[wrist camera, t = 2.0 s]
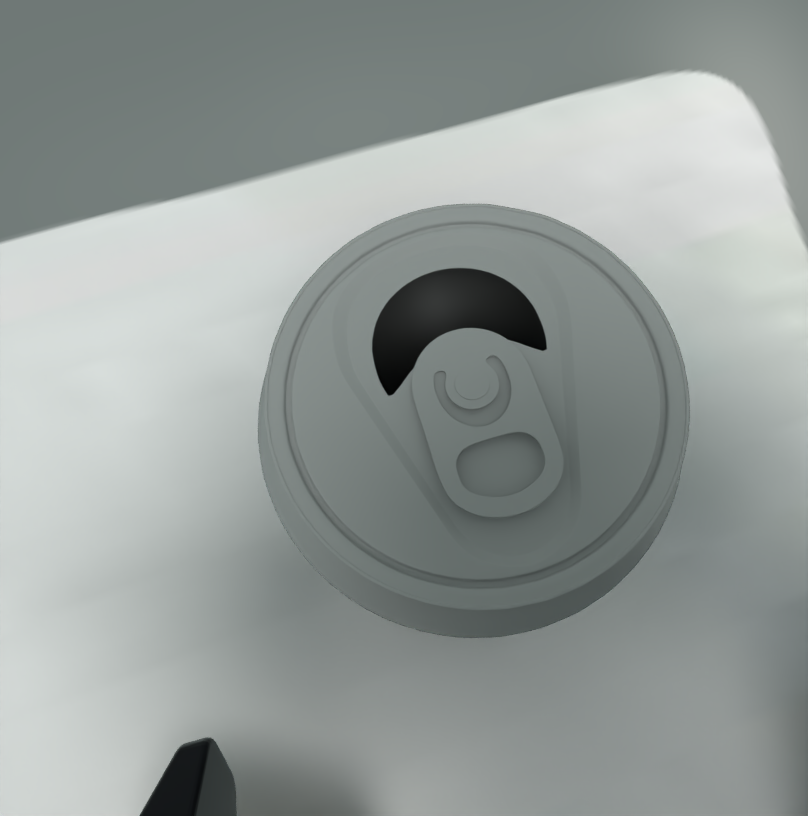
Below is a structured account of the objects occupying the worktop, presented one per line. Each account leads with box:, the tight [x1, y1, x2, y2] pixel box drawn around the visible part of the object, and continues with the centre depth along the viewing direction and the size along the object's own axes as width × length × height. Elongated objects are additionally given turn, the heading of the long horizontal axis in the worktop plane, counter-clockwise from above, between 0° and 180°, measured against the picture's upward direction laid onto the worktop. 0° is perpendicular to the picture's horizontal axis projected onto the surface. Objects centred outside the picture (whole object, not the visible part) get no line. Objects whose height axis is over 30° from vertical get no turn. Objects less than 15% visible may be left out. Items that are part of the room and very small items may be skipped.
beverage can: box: [258, 204, 690, 638], centre depth 15 cm, size 6×6×12 cm
